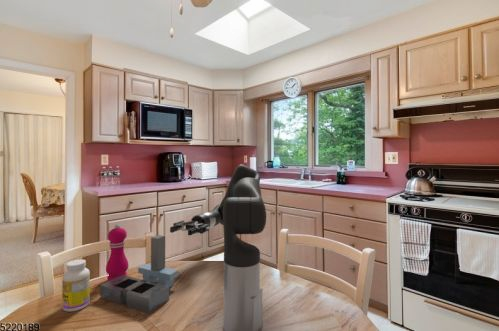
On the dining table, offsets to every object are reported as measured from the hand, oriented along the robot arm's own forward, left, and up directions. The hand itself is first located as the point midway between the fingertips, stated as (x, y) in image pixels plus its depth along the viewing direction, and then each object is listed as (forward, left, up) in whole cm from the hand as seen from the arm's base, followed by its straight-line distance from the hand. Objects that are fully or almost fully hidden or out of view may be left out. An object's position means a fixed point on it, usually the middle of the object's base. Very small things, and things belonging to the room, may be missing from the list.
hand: (179, 231), depth 99 cm
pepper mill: (+16, +14, -16) cm, 27 cm away
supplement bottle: (+12, +31, -16) cm, 37 cm away
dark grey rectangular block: (0, +21, -16) cm, 26 cm away
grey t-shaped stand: (0, +11, -16) cm, 19 cm away
